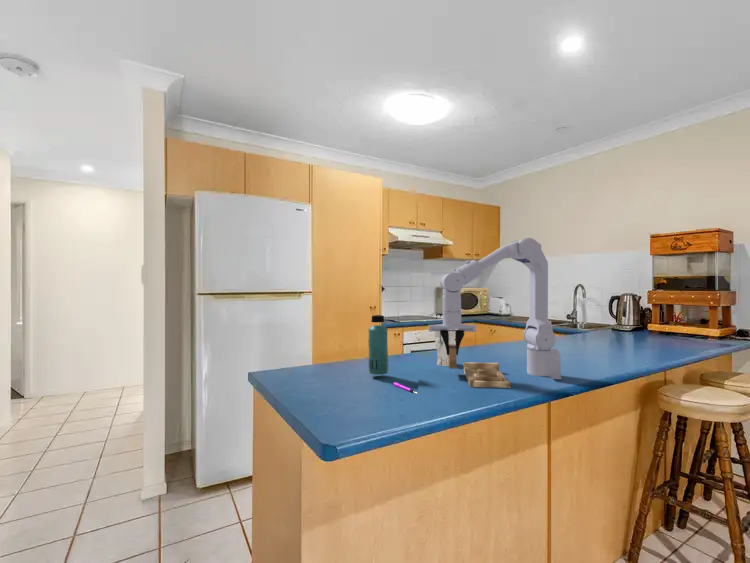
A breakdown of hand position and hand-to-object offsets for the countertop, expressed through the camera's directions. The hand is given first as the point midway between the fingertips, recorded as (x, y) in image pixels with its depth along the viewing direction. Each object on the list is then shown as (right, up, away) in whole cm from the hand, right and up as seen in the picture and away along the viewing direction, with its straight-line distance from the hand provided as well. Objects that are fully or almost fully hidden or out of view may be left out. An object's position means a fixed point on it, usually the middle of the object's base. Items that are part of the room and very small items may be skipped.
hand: (452, 354), depth 121 cm
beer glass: (+1, -8, +16) cm, 18 cm away
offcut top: (+8, -4, -10) cm, 14 cm away
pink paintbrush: (-14, -9, -13) cm, 21 cm away
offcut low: (+8, -7, -10) cm, 15 cm away
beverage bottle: (-23, -8, +3) cm, 25 cm away
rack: (+9, -8, -5) cm, 13 cm away
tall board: (0, -4, 0) cm, 4 cm away
